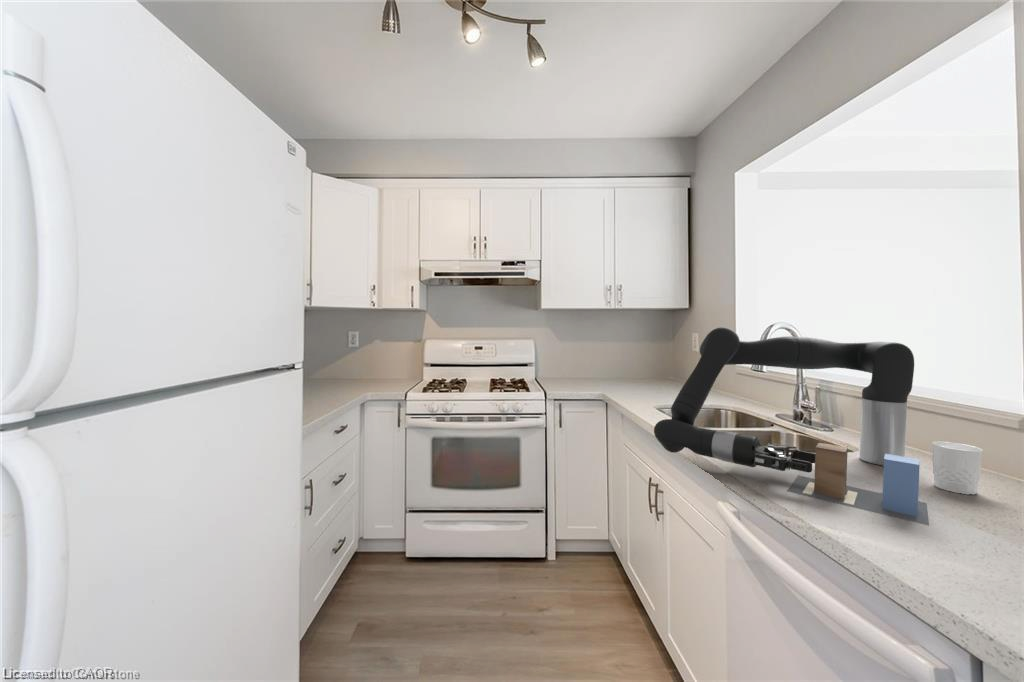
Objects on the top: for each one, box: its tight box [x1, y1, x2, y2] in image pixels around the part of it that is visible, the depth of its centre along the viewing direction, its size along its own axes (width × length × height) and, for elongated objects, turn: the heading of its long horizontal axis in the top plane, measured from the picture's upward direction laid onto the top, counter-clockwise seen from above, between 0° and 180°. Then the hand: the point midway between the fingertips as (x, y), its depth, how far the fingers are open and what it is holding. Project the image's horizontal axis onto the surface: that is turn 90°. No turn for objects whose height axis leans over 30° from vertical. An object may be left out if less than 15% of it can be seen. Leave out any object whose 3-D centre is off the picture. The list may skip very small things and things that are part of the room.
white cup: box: [931, 440, 984, 496], centre depth 94 cm, size 8×8×10 cm
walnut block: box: [814, 442, 849, 499], centre depth 89 cm, size 5×5×10 cm
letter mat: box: [786, 475, 930, 526], centre depth 87 cm, size 14×22×1 cm, turn 46°
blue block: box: [882, 454, 921, 517], centre depth 81 cm, size 5×5×10 cm
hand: (815, 463), depth 91 cm, fingers open, 8 cm apart
